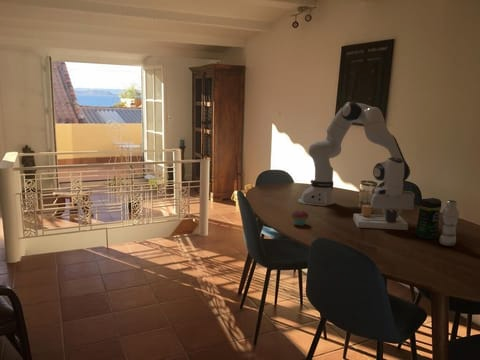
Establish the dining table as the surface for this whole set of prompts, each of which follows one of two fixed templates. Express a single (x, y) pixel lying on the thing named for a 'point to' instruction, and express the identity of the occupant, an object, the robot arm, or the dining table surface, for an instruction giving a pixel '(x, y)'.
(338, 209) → the dining table surface
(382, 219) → the console
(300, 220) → the cupcake
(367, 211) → the fader
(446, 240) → the plastic bottle
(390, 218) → the fader
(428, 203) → the coffee jar
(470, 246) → the dining table surface
